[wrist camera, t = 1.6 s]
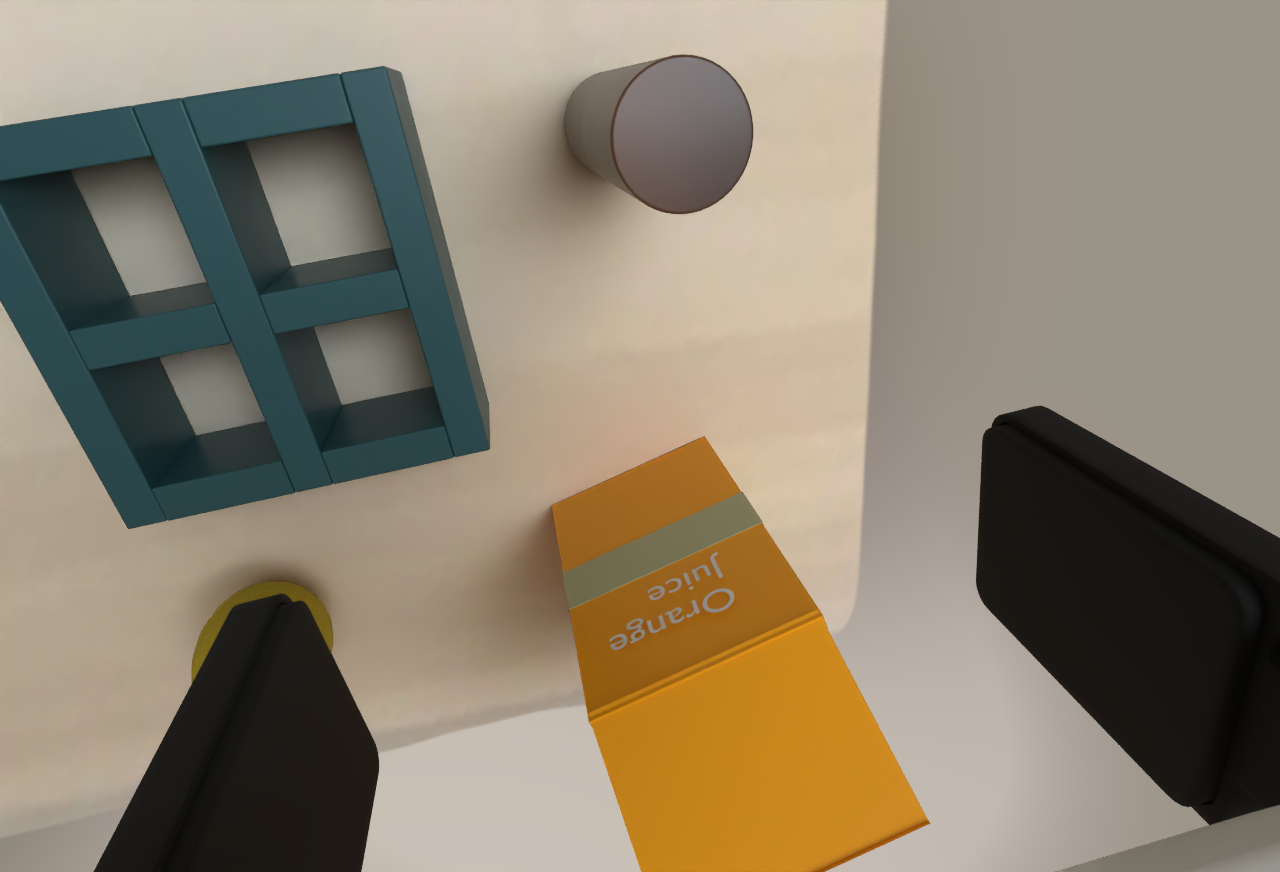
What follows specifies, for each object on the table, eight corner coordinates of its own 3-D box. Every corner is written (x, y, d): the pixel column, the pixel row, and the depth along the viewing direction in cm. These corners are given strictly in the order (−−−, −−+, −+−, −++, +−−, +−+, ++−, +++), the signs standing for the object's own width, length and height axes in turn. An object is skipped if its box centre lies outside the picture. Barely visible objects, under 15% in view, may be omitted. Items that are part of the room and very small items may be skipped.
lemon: (204, 610, 36) (136, 737, 29) (264, 531, 35) (207, 642, 27) (308, 655, 38) (268, 783, 31) (367, 582, 37) (340, 697, 30)
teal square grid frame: (175, 471, 33) (127, 530, 28) (6, 133, 26) (-91, 140, 22) (489, 404, 34) (490, 450, 30) (401, 71, 28) (385, 65, 23)
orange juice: (549, 504, 37) (611, 876, 19) (705, 433, 37) (910, 740, 19) (607, 610, 41) (705, 1006, 23) (749, 545, 41) (956, 891, 23)
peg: (574, 182, 31) (623, 226, 20) (555, 79, 29) (598, 67, 18) (664, 166, 31) (759, 200, 21) (651, 63, 29) (748, 43, 19)
